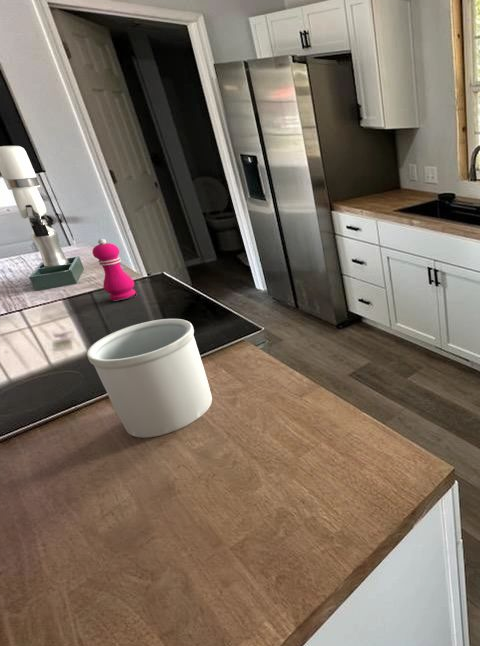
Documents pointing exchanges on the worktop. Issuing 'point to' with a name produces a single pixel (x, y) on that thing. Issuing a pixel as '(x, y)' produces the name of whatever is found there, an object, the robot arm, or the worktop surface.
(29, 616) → the worktop surface
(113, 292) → the pepper mill
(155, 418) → the utensil holder
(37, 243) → the silver metal bottle
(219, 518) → the worktop surface
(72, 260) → the divided storage box
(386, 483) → the worktop surface
